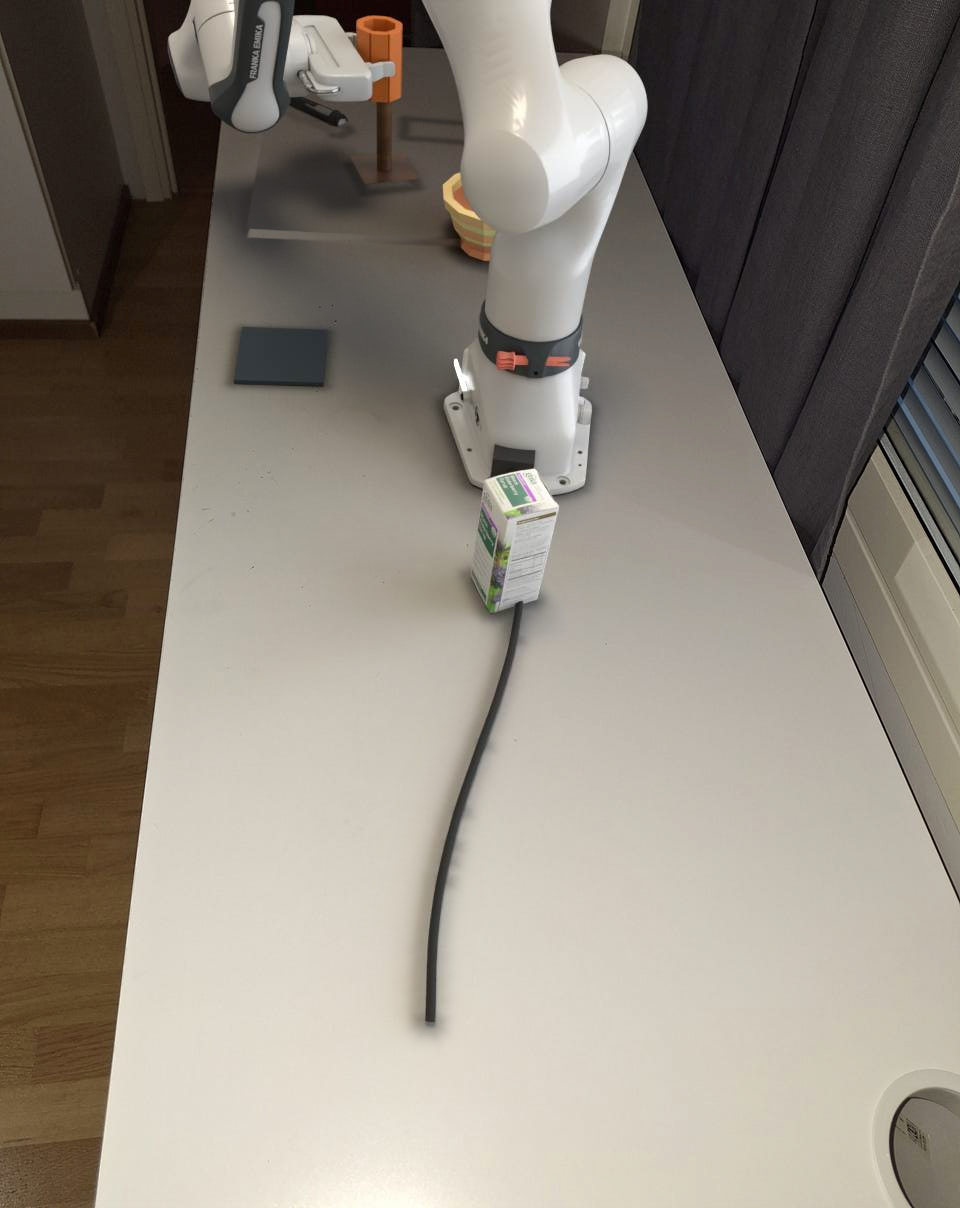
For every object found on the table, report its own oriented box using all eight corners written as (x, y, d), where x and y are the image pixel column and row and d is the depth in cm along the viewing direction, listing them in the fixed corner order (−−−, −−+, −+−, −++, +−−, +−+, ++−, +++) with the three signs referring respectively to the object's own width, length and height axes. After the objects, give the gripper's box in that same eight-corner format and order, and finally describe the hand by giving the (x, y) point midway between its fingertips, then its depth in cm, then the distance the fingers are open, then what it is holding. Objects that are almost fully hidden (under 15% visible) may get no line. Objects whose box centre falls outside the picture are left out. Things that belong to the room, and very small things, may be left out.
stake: (418, 187, 146) (421, 107, 136) (365, 193, 143) (364, 111, 134) (402, 160, 151) (403, 81, 141) (349, 165, 148) (347, 84, 139)
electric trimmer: (285, 101, 161) (284, 82, 158) (352, 130, 156) (351, 110, 153) (271, 108, 159) (269, 88, 156) (337, 137, 154) (336, 118, 151)
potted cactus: (519, 214, 144) (541, 41, 124) (554, 268, 135) (583, 91, 115) (426, 222, 140) (433, 45, 120) (456, 278, 131) (469, 97, 111)
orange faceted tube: (401, 103, 132) (402, 35, 125) (357, 101, 131) (356, 32, 124) (401, 84, 136) (402, 17, 129) (358, 81, 135) (356, 14, 128)
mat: (323, 386, 114) (323, 382, 113) (234, 383, 113) (233, 379, 112) (326, 333, 121) (326, 329, 120) (242, 330, 119) (242, 326, 119)
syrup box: (468, 575, 97) (480, 478, 85) (518, 561, 99) (535, 464, 87) (489, 615, 94) (504, 520, 82) (540, 600, 96) (561, 505, 84)
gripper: (306, 68, 118) (407, 61, 122) (272, 7, 129) (365, 3, 133) (309, 118, 123) (406, 110, 127) (276, 55, 134) (366, 50, 138)
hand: (385, 55), depth 130 cm, fingers closed on orange faceted tube, 7 cm apart
